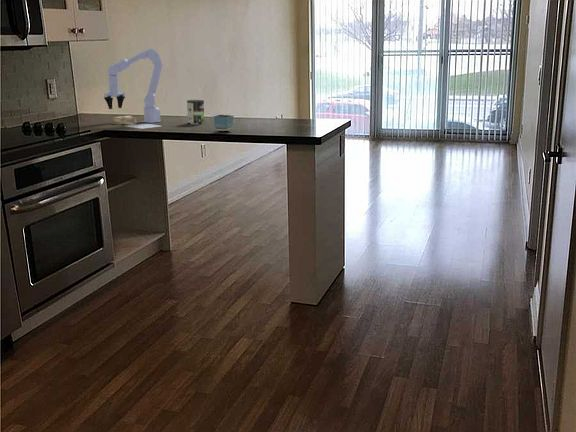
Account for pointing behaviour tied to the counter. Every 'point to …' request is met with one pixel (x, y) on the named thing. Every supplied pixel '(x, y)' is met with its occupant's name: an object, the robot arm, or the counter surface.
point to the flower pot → (223, 121)
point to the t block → (125, 120)
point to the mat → (143, 126)
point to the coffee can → (195, 111)
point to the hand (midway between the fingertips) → (115, 108)
